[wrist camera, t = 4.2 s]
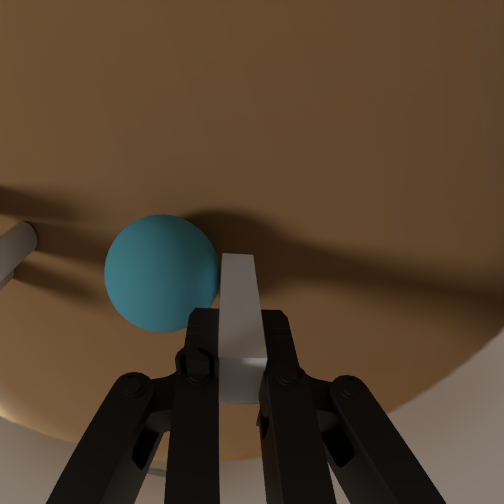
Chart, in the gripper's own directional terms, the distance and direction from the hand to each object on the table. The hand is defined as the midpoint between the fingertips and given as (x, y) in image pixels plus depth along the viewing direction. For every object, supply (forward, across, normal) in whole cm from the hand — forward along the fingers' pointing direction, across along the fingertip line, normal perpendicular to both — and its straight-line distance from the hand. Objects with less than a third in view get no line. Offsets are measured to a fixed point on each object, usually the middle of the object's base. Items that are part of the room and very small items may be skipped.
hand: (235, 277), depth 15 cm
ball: (0, +4, 0) cm, 4 cm away
